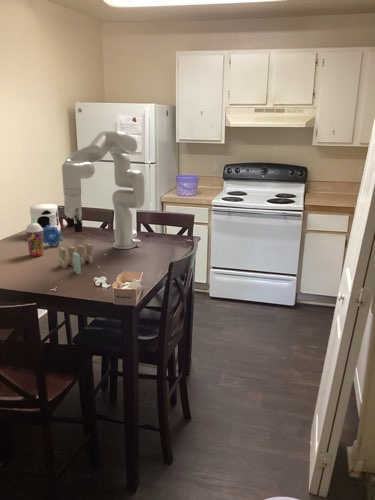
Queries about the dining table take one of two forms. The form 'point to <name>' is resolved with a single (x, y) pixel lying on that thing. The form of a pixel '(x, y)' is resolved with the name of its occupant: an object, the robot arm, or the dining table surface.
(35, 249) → the smoothie
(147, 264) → the dining table surface
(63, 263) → the domino
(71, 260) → the domino
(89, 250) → the domino
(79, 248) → the domino
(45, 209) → the milk container
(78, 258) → the domino
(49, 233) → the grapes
